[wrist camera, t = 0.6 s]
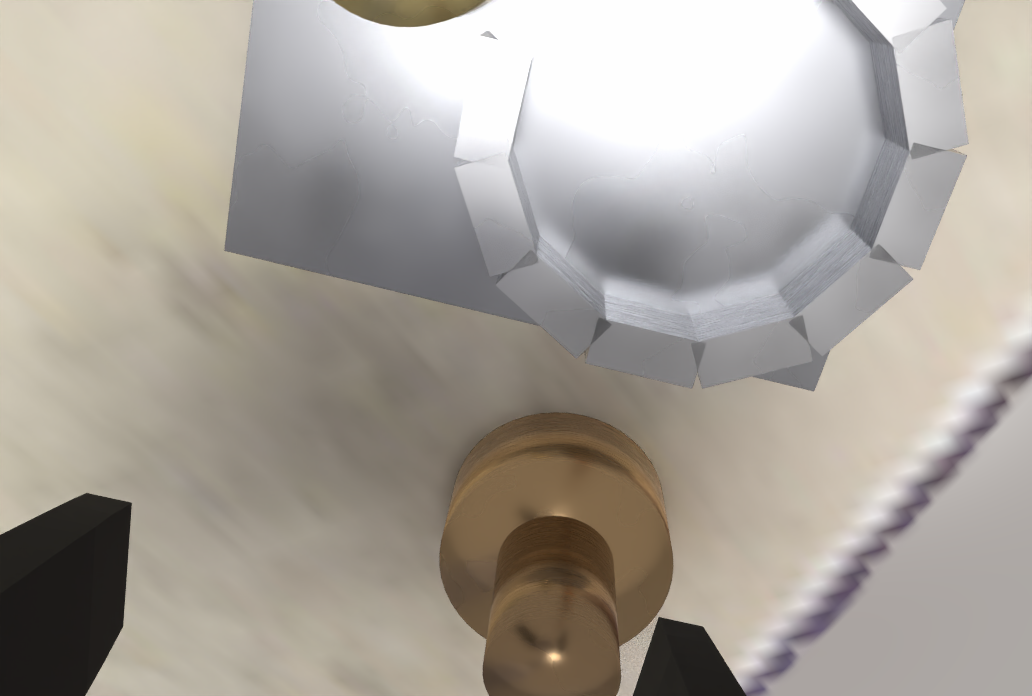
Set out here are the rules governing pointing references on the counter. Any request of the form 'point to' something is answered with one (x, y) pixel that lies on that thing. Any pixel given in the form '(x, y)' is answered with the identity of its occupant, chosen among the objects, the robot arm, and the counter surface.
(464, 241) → the carrier
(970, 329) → the counter surface
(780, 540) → the counter surface
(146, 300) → the counter surface
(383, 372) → the counter surface
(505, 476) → the gear
